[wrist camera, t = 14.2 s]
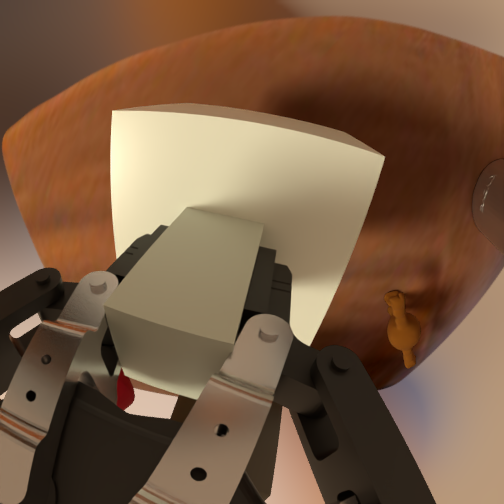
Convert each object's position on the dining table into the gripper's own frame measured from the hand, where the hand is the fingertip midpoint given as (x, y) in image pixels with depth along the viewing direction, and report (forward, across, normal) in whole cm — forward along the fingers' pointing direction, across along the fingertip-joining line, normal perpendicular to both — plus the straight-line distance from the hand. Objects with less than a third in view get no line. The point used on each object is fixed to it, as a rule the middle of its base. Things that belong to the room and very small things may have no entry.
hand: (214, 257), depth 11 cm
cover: (+10, 0, 0) cm, 10 cm away
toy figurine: (+15, -18, +11) cm, 26 cm away
